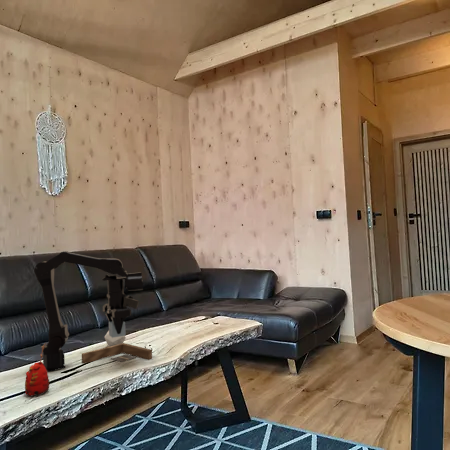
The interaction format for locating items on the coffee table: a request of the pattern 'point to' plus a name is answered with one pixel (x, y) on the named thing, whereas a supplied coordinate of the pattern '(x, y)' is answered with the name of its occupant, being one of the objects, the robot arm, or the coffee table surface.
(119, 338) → the die
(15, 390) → the coffee table surface
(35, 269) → the robot arm
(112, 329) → the cube
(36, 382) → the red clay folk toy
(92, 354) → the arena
